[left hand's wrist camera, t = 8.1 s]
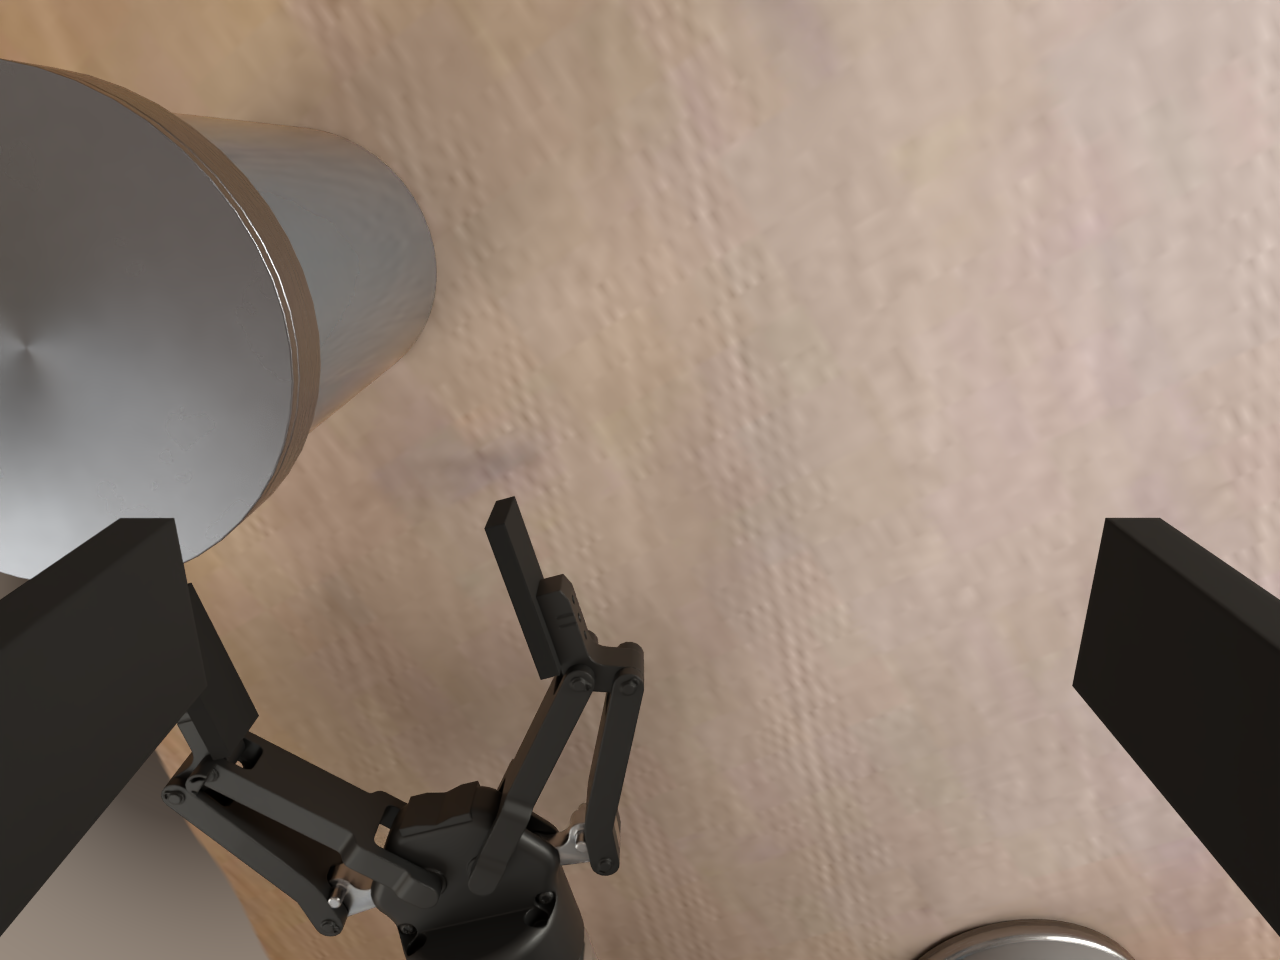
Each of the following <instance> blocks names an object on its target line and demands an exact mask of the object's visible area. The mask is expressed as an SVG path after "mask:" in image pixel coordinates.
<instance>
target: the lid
mask: <svg viewBox="0 0 1280 960" xmlns="http://www.w3.org/2000/svg"><path fill="white" fill-rule="evenodd" d="M320 371H321V358H320V340H319V331H318V325H317V320H316V314H315V309H314V304H313V300H312V297H311V294H310V291H309V287H308V284H307V281H306V278H305V275H304V272H303V269H302V267H301V265H300V262H299V260H298V258H297V256H296V254H295V251H294V249H293V247H292V245H291V243H290V240H289V238H288V236H287V235H286V233H285V231H284V230H283V228H282V226H281V225H280V223H279V222H278V220H277V218H276V217H275V215H274V213H273V212H272V210H271V208H270V207H269V205H268V204H267V203H266V201H265V200H264V199H263V198H262V196H261V195H260V194H259V192H258V191H257V190H256V188H255V187H254V186H253V185H252V183H251V182H250V181H249V179H248V178H247V177H246V176H245V175H244V174H243V173H242V172H241V171H240V170H239V169H238V168H237V166H236V165H235V164H234V163H233V162H232V161H231V160H230V159H229V158H228V157H227V156H226V155H225V154H224V153H223V152H222V151H221V150H220V149H219V148H218V147H216V146H215V145H214V144H213V143H212V142H210V141H209V140H208V139H207V138H205V137H204V136H203V135H202V134H201V133H199V132H198V131H197V130H196V129H195V128H193V127H192V126H191V125H189V124H188V123H186V122H185V121H183V120H182V119H180V118H179V117H177V116H176V115H174V114H172V113H171V112H169V111H168V110H166V109H165V108H163V107H162V106H160V105H159V104H157V103H155V102H153V101H151V100H149V99H147V98H145V97H142V96H140V95H138V94H136V93H134V92H132V91H130V90H128V89H126V88H124V87H121V86H119V85H116V84H113V83H110V82H107V81H104V80H101V79H99V78H96V77H93V76H90V75H86V74H81V73H77V72H72V71H67V70H63V69H58V68H53V67H48V66H42V65H36V64H30V63H24V62H18V61H12V60H6V59H0V572H1V573H5V574H8V575H12V576H15V577H18V578H24V579H31V578H33V577H34V576H36V575H37V574H39V573H40V572H42V571H43V570H45V569H46V568H48V567H49V566H50V565H52V564H53V563H55V562H56V561H58V560H59V559H61V558H62V557H64V556H65V555H67V554H68V553H70V552H71V551H72V550H74V549H75V548H77V547H78V546H80V545H81V544H83V543H84V542H86V541H87V540H89V539H90V538H91V537H93V536H94V535H96V534H97V533H99V532H100V531H102V530H103V529H105V528H106V527H108V526H109V525H111V524H112V523H113V522H115V521H116V520H118V519H119V518H175V524H176V529H177V534H178V539H179V544H180V549H181V554H182V559H183V563H185V562H188V561H190V560H192V559H194V558H196V557H198V556H199V555H201V554H202V553H204V552H205V551H207V550H208V549H210V548H211V547H213V546H214V545H216V544H217V543H219V542H220V541H221V540H223V539H224V538H225V537H226V536H227V535H228V534H229V533H230V532H232V531H233V530H234V529H235V528H236V527H237V526H238V525H239V524H240V523H242V522H243V521H244V520H245V519H246V518H247V517H248V516H249V515H251V514H252V513H253V512H254V511H255V510H256V509H257V508H258V507H259V506H260V505H261V504H262V503H263V502H265V501H266V500H267V499H268V498H269V497H270V496H271V495H272V494H273V493H274V491H275V490H276V489H277V488H278V486H279V485H280V484H281V483H282V481H283V480H284V479H285V478H286V476H287V475H288V474H289V472H290V470H291V468H292V467H293V465H294V463H295V461H296V460H297V458H298V456H299V454H300V453H301V451H302V449H303V446H304V444H305V441H306V438H307V436H308V433H309V431H310V428H311V425H312V422H313V418H314V413H315V409H316V404H317V400H318V396H319V383H320Z"/></svg>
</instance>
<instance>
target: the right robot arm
mask: <svg viewBox="0 0 1280 960" xmlns="http://www.w3.org/2000/svg"><path fill="white" fill-rule="evenodd" d="M484 529H485V531H486V534H487V537H488V539H489V542H490V545H491V547H492V550H493V553H494V555H495V558H496V561H497V563H498V566H499V569H500V572H501V574H502V577H503V580H504V582H505V585H506V588H507V590H508V593H509V596H510V598H511V601H512V604H513V606H514V609H515V612H516V615H517V617H518V620H519V623H520V625H521V628H522V631H523V633H524V636H525V639H526V641H527V644H528V647H529V649H530V652H531V655H532V658H533V660H534V663H535V666H536V668H537V671H538V674H539V676H540V679H541V680H542V679H546V678H550V677H554V676H555V677H554V679H553V681H552V683H551V685H550V687H549V689H548V691H547V693H546V695H545V697H544V699H543V701H542V703H541V705H540V707H539V709H538V711H537V713H536V715H535V717H534V719H533V722H532V724H531V726H530V728H529V730H528V732H527V734H526V736H525V738H524V740H523V742H522V744H521V746H520V748H519V750H518V752H517V754H516V756H515V758H514V759H512V761H511V762H510V764H509V766H508V769H507V771H506V773H505V775H504V777H503V779H502V781H501V783H500V785H499V787H498V789H497V790H496V789H493V788H490V787H485V786H480V784H479V782H478V781H475V782H471V783H467V784H462V785H460V786H458V787H456V788H454V789H452V790H450V791H448V792H445V793H424V794H420V795H416V796H412V797H411V798H410V800H409V803H408V804H407V803H405V802H403V801H401V800H399V799H397V798H395V797H393V796H392V795H390V794H388V793H386V792H383V791H376V792H374V793H368V792H366V791H364V790H362V789H360V788H358V787H356V786H354V785H352V784H350V783H348V782H346V781H344V780H342V779H340V778H338V777H337V776H335V775H333V774H331V773H329V772H327V771H325V770H323V769H321V768H319V767H317V766H315V765H313V764H311V763H309V762H307V761H305V760H303V759H302V758H300V757H298V756H296V755H294V754H292V753H290V752H288V751H286V750H284V749H282V748H280V747H278V746H276V745H274V744H272V743H270V742H268V741H267V740H265V739H263V738H261V737H259V736H257V735H255V734H253V733H251V732H249V729H250V728H251V726H252V725H253V723H254V722H255V721H256V719H257V718H258V716H259V715H258V713H257V711H256V709H255V707H254V705H253V703H252V701H251V699H250V697H249V695H248V693H247V691H246V689H245V687H244V685H243V683H242V681H241V679H240V677H239V675H238V673H237V671H236V670H235V668H234V666H233V664H232V662H231V660H230V658H229V656H228V654H227V652H226V650H225V648H224V646H223V644H222V642H221V640H220V638H219V636H218V634H217V632H216V630H215V628H214V626H213V624H212V622H211V620H210V618H209V616H208V614H207V612H206V610H205V608H204V606H203V604H202V603H201V601H200V599H199V597H198V595H197V593H196V591H195V589H194V587H193V585H192V583H188V589H189V594H190V599H191V604H192V609H193V615H194V620H195V625H196V630H197V635H198V640H199V645H200V650H201V655H202V660H203V665H204V670H205V675H206V680H207V685H208V686H207V687H206V688H205V690H204V691H203V692H202V693H201V694H200V696H199V697H198V698H197V699H196V700H195V702H194V703H193V704H192V705H191V707H190V708H189V709H188V710H187V711H186V713H185V714H184V715H183V716H182V717H181V719H180V720H179V721H178V722H177V725H178V727H179V729H180V730H181V732H182V734H183V736H184V738H185V740H186V741H187V743H188V745H189V747H190V749H191V751H192V752H191V754H190V755H189V756H188V758H187V759H186V760H185V761H184V763H183V764H182V765H181V767H180V768H179V769H178V770H177V772H176V773H175V774H174V776H173V777H172V778H171V780H170V781H169V783H168V784H167V785H166V787H165V788H164V789H163V791H162V794H161V797H162V800H163V801H164V803H165V804H166V805H167V806H169V807H170V808H171V809H173V810H174V811H176V812H177V813H178V814H179V815H181V816H182V817H184V818H185V819H186V820H188V821H189V822H190V823H192V824H193V825H194V826H196V827H197V828H198V829H200V830H201V831H202V832H204V833H205V834H206V835H208V836H209V837H210V838H212V839H213V840H214V841H216V842H217V843H218V844H220V845H221V846H222V847H224V848H225V849H227V850H228V851H229V852H231V853H232V854H233V855H235V856H236V857H237V858H239V859H240V860H241V861H243V862H244V863H245V864H247V865H248V866H249V867H251V868H252V869H253V870H255V871H256V872H257V873H259V874H260V875H261V876H263V877H264V878H266V879H267V880H268V881H270V882H271V883H272V884H274V885H275V886H276V887H278V888H279V889H280V890H282V891H283V892H284V893H286V894H287V895H288V896H290V897H291V898H292V899H294V900H295V901H296V902H298V904H299V905H300V907H301V908H302V910H303V911H304V912H305V914H306V915H307V917H308V918H309V920H310V921H311V922H312V924H313V925H314V927H315V928H316V930H317V931H318V932H319V933H321V934H323V935H325V936H336V935H338V934H340V932H341V931H342V930H343V927H344V924H345V922H346V919H347V917H348V916H350V915H353V914H356V913H359V912H362V911H365V910H369V909H372V908H375V907H377V909H379V910H380V911H381V912H382V913H384V914H385V915H387V916H388V917H389V918H390V919H392V920H393V921H394V923H395V924H396V925H397V928H398V931H399V935H400V939H401V943H402V947H403V951H404V954H405V957H406V960H598V958H597V955H596V953H595V950H594V948H593V945H592V943H591V940H590V938H589V935H588V933H587V930H586V929H585V928H584V924H583V919H582V916H581V913H580V911H579V908H578V906H577V903H576V901H575V898H574V896H573V893H572V891H571V888H570V885H569V883H568V880H567V878H566V875H565V873H564V870H563V868H562V866H561V865H569V864H576V863H584V862H590V864H591V867H592V869H593V871H594V872H596V873H597V874H599V875H604V876H608V875H611V874H614V873H615V872H616V871H617V870H618V868H619V857H620V817H619V812H618V804H619V799H620V795H621V790H622V786H623V781H624V777H625V772H626V768H627V763H628V759H629V754H630V750H631V745H632V741H633V736H634V732H635V728H636V723H637V719H638V714H639V710H640V705H641V701H642V696H643V692H644V652H643V650H642V648H641V647H640V646H639V645H638V644H636V643H633V642H625V643H622V644H620V645H619V646H618V647H606V646H601V645H599V644H598V639H597V637H596V635H595V634H594V633H593V632H591V631H589V630H588V629H587V626H586V623H585V620H584V617H583V615H582V612H581V609H580V607H579V603H578V600H577V598H576V594H575V591H574V588H573V585H572V583H571V582H570V581H569V580H568V579H567V578H566V577H565V575H564V574H561V575H557V576H553V577H549V578H546V579H544V578H543V575H542V572H541V569H540V566H539V563H538V561H537V558H536V555H535V552H534V549H533V547H532V544H531V541H530V538H529V535H528V532H527V530H526V527H525V524H524V521H523V518H522V516H521V513H520V510H519V507H518V504H517V501H516V499H515V496H513V497H510V498H506V499H502V500H498V501H496V503H495V505H494V507H493V510H492V512H491V514H490V517H489V519H488V521H487V524H486V526H485V528H484ZM592 691H595V692H607V693H606V697H605V702H604V707H603V712H602V717H601V722H600V726H599V731H598V736H597V741H596V746H595V751H594V756H593V760H592V765H591V770H590V775H589V781H588V789H587V801H586V803H583V804H581V805H580V806H579V808H578V810H577V811H575V812H574V813H573V814H572V816H571V820H570V825H569V827H568V828H567V829H566V830H564V831H562V832H559V831H558V830H557V828H556V827H555V826H554V825H553V824H551V823H550V822H548V821H547V820H545V819H543V818H542V817H540V816H538V815H537V814H535V813H534V812H532V810H533V808H534V805H535V803H536V801H537V799H538V798H539V796H540V794H541V792H542V790H543V788H544V786H545V784H546V782H547V780H548V778H549V776H550V774H551V772H552V770H553V768H554V766H555V764H556V762H557V760H558V758H559V756H560V754H561V752H562V750H563V748H564V746H565V744H566V743H567V741H568V739H569V737H570V735H571V733H572V731H573V729H574V727H575V725H576V723H577V721H578V719H579V717H580V715H581V713H582V711H583V709H584V707H585V705H586V703H587V701H588V699H589V697H590V695H591V693H592ZM237 761H239V762H241V763H242V765H243V768H242V767H240V766H238V765H236V762H237ZM379 824H382V825H384V826H386V827H387V828H389V829H390V831H389V834H388V837H387V840H386V843H385V846H384V849H383V848H381V847H379V846H378V845H377V844H375V842H374V836H375V834H376V831H377V829H378V826H379ZM918 960H1135V959H1134V958H1133V957H1132V956H1131V955H1130V954H1129V953H1128V952H1127V951H1126V950H1125V949H1124V948H1123V947H1121V946H1120V945H1119V944H1118V943H1116V942H1115V941H1113V940H1112V939H1110V938H1109V937H1107V936H1105V935H1103V934H1101V933H1099V932H1097V931H1094V930H1092V929H1089V928H1087V927H1083V926H1080V925H1076V924H1072V923H1067V922H1062V921H1054V920H1041V919H1027V920H1014V921H1005V922H1000V923H995V924H990V925H986V926H983V927H979V928H976V929H973V930H970V931H967V932H964V933H962V934H960V935H957V936H955V937H953V938H951V939H949V940H947V941H945V942H943V943H941V944H939V945H938V946H936V947H935V948H933V949H931V950H930V951H928V952H927V953H926V954H924V955H923V956H922V957H920V958H919V959H918Z"/></svg>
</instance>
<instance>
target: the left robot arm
mask: <svg viewBox="0 0 1280 960" xmlns="http://www.w3.org/2000/svg"><path fill="white" fill-rule="evenodd" d="M207 686H208V685H207V680H206V675H205V670H204V665H203V660H202V655H201V650H200V645H199V640H198V635H197V630H196V625H195V620H194V615H193V609H192V604H191V599H190V594H189V589H188V584H187V579H186V574H185V569H184V564H183V559H182V554H181V549H180V544H179V539H178V534H177V529H176V524H175V518H119V519H118V520H116V521H115V522H113V523H112V524H111V525H109V526H108V527H106V528H105V529H103V530H102V531H100V532H99V533H97V534H96V535H94V536H93V537H91V538H90V539H89V540H87V541H86V542H84V543H83V544H81V545H80V546H78V547H77V548H75V549H74V550H72V551H71V552H70V553H68V554H67V555H65V556H64V557H62V558H61V559H59V560H58V561H56V562H55V563H53V564H52V565H50V566H49V567H48V568H46V569H45V570H43V571H42V572H40V573H39V574H37V575H36V576H34V577H33V578H31V579H30V580H29V581H27V582H26V583H24V584H23V585H21V586H20V587H18V588H17V589H15V590H14V591H12V592H11V593H10V594H8V595H7V596H5V597H4V598H2V599H1V600H0V936H1V935H2V934H3V933H4V932H5V930H6V929H7V928H8V927H9V925H10V924H11V923H12V922H13V921H14V919H15V918H16V917H17V916H18V914H19V913H20V912H21V911H22V910H23V909H24V907H25V906H26V905H27V904H28V902H29V901H30V900H31V899H32V898H33V896H34V895H35V894H36V893H37V892H38V890H39V889H40V888H41V887H42V886H43V884H44V883H45V882H46V881H47V879H48V878H49V877H50V876H51V875H52V873H53V872H54V871H55V870H56V869H57V867H58V866H59V865H60V864H61V863H62V861H63V860H64V859H65V858H66V857H67V855H68V854H69V853H70V852H71V850H72V849H73V848H74V847H75V846H76V844H77V843H78V842H79V841H80V840H81V838H82V837H83V836H84V835H85V833H86V832H87V831H88V830H89V829H90V828H91V826H92V825H93V824H94V823H95V821H96V820H97V819H98V818H99V817H100V815H101V814H102V813H103V812H104V811H105V809H106V808H107V807H108V806H109V805H110V803H111V802H112V801H113V800H114V798H115V797H116V796H117V795H118V794H119V792H120V791H121V790H122V789H123V788H124V786H125V785H126V784H127V783H128V782H129V780H130V779H131V778H132V777H133V775H134V774H135V773H136V772H137V771H138V769H139V768H140V767H141V766H142V765H143V763H144V762H145V761H146V760H147V759H148V757H149V756H150V755H151V754H152V752H153V751H154V750H155V749H156V748H157V746H158V745H159V744H160V743H161V742H162V740H163V739H164V738H165V737H166V736H167V734H168V733H169V732H170V731H171V730H172V728H173V727H174V726H175V725H176V723H177V722H178V721H179V720H180V719H181V717H182V716H183V715H184V714H185V713H186V711H187V710H188V709H189V708H190V707H191V705H192V704H193V703H194V702H195V700H196V699H197V698H198V697H199V696H200V694H201V693H202V692H203V691H204V690H205V688H206V687H207ZM1072 686H1073V687H1074V688H1075V690H1076V691H1077V692H1078V693H1079V694H1080V696H1081V697H1082V698H1083V699H1084V700H1085V702H1086V703H1087V704H1088V705H1089V707H1090V708H1091V709H1092V710H1093V711H1094V713H1095V714H1096V715H1097V716H1098V717H1099V719H1100V720H1101V721H1102V722H1103V723H1104V725H1105V726H1106V727H1107V728H1108V730H1109V731H1110V732H1111V733H1112V734H1113V736H1114V737H1115V738H1116V739H1117V740H1118V742H1119V743H1120V744H1121V745H1122V746H1123V748H1124V749H1125V750H1126V751H1127V753H1128V754H1129V755H1130V756H1131V757H1132V759H1133V760H1134V761H1135V762H1136V763H1137V765H1138V766H1139V767H1140V768H1141V769H1142V771H1143V772H1144V773H1145V774H1146V776H1147V777H1148V778H1149V779H1150V780H1151V782H1152V783H1153V784H1154V785H1155V786H1156V788H1157V789H1158V790H1159V791H1160V792H1161V794H1162V795H1163V796H1164V797H1165V798H1166V800H1167V801H1168V802H1169V803H1170V805H1171V806H1172V807H1173V808H1174V809H1175V811H1176V812H1177V813H1178V814H1179V815H1180V817H1181V818H1182V819H1183V820H1184V821H1185V823H1186V824H1187V825H1188V826H1189V828H1190V829H1191V830H1192V831H1193V832H1194V834H1195V835H1196V836H1197V837H1198V838H1199V840H1200V841H1201V842H1202V843H1203V844H1204V846H1205V847H1206V848H1207V849H1208V851H1209V852H1210V853H1211V854H1212V855H1213V857H1214V858H1215V859H1216V860H1217V861H1218V863H1219V864H1220V865H1221V866H1222V867H1223V869H1224V870H1225V871H1226V872H1227V874H1228V875H1229V876H1230V877H1231V878H1232V880H1233V881H1234V882H1235V883H1236V884H1237V886H1238V887H1239V888H1240V889H1241V890H1242V892H1243V893H1244V894H1245V895H1246V896H1247V898H1248V899H1249V900H1250V901H1251V903H1252V904H1253V905H1254V906H1255V907H1256V909H1257V910H1258V911H1259V912H1260V913H1261V915H1262V916H1263V917H1264V918H1265V919H1266V921H1267V922H1268V923H1269V924H1270V926H1271V927H1272V928H1273V929H1274V930H1275V932H1276V933H1277V934H1278V935H1279V936H1280V600H1279V599H1278V598H1276V597H1275V596H1273V595H1272V594H1270V593H1269V592H1268V591H1266V590H1265V589H1263V588H1262V587H1260V586H1259V585H1257V584H1256V583H1254V582H1253V581H1251V580H1250V579H1248V578H1247V577H1246V576H1244V575H1243V574H1241V573H1240V572H1238V571H1237V570H1235V569H1234V568H1232V567H1231V566H1229V565H1228V564H1227V563H1225V562H1224V561H1222V560H1221V559H1219V558H1218V557H1216V556H1215V555H1213V554H1212V553H1210V552H1209V551H1208V550H1206V549H1205V548H1203V547H1202V546H1200V545H1199V544H1197V543H1196V542H1194V541H1193V540H1191V539H1190V538H1188V537H1187V536H1186V535H1184V534H1183V533H1181V532H1180V531H1178V530H1177V529H1175V528H1174V527H1172V526H1171V525H1169V524H1168V523H1167V522H1165V521H1164V520H1162V519H1161V518H1105V523H1104V528H1103V533H1102V539H1101V544H1100V549H1099V554H1098V559H1097V564H1096V569H1095V574H1094V579H1093V584H1092V589H1091V594H1090V599H1089V604H1088V609H1087V614H1086V619H1085V624H1084V630H1083V635H1082V640H1081V645H1080V650H1079V655H1078V660H1077V665H1076V670H1075V675H1074V680H1073V685H1072Z"/></svg>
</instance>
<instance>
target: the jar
mask: <svg viewBox="0 0 1280 960" xmlns="http://www.w3.org/2000/svg"><path fill="white" fill-rule="evenodd" d="M172 114H174V115H176V116H177V117H179V118H180V119H182V120H183V121H185V122H186V123H188V124H189V125H191V126H192V127H193V128H195V129H196V130H197V131H198V132H199V133H201V134H202V135H203V136H204V137H205V138H207V139H208V140H209V141H210V142H212V143H213V144H214V145H215V146H216V147H218V148H219V149H220V150H221V151H222V152H223V153H224V154H225V155H226V156H227V157H228V158H229V159H230V160H231V161H232V162H233V163H234V164H235V165H236V166H237V168H238V169H239V170H240V171H241V172H242V173H243V174H244V175H245V176H246V177H247V178H248V179H249V181H250V182H251V183H252V185H253V186H254V187H255V188H256V190H257V191H258V192H259V194H260V195H261V196H262V198H263V199H264V200H265V201H266V203H267V204H268V205H269V207H270V208H271V210H272V212H273V213H274V215H275V217H276V218H277V220H278V222H279V223H280V225H281V226H282V228H283V230H284V231H285V233H286V235H287V236H288V238H289V240H290V243H291V245H292V247H293V249H294V251H295V254H296V256H297V258H298V260H299V262H300V265H301V267H302V269H303V272H304V275H305V278H306V281H307V284H308V287H309V291H310V294H311V297H312V300H313V304H314V309H315V314H316V320H317V325H318V331H319V340H320V358H321V371H320V383H319V396H318V400H317V404H316V409H315V413H314V418H313V422H312V425H311V428H310V431H309V433H310V432H311V431H313V430H314V429H315V428H316V427H318V426H319V425H320V424H321V423H323V422H324V421H325V420H326V419H327V418H329V417H330V416H331V415H332V414H334V413H335V412H336V411H337V410H339V409H340V408H341V407H342V406H343V405H345V404H346V403H347V402H348V401H350V400H351V399H352V398H353V397H355V396H356V395H357V394H358V393H360V392H361V391H362V390H363V389H364V388H366V387H367V386H368V385H369V384H371V383H372V382H373V381H374V380H376V379H377V378H378V377H379V376H380V375H382V374H383V373H384V372H385V371H387V370H388V369H389V368H390V367H392V366H393V365H394V364H395V363H396V362H397V361H399V360H400V359H401V358H402V357H403V356H404V355H405V354H406V353H407V352H408V351H409V349H410V348H411V347H412V346H413V344H414V343H415V342H416V341H417V339H418V337H419V335H420V334H421V332H422V330H423V329H424V327H425V324H426V322H427V320H428V317H429V315H430V312H431V308H432V304H433V300H434V296H435V287H436V260H435V253H434V246H433V242H432V239H431V235H430V231H429V228H428V226H427V223H426V221H425V218H424V216H423V213H422V212H421V210H420V208H419V206H418V204H417V203H416V201H415V199H414V197H413V196H412V194H411V193H410V192H409V190H408V189H407V187H406V186H405V185H404V183H403V182H402V181H401V180H400V179H399V178H398V176H397V175H396V174H395V173H394V172H393V171H392V170H391V169H390V168H389V167H388V166H387V165H386V164H384V163H383V162H382V161H381V160H380V159H379V158H377V157H376V156H375V155H373V154H372V153H370V152H369V151H367V150H366V149H364V148H363V147H361V146H359V145H357V144H355V143H353V142H351V141H349V140H347V139H346V138H343V137H340V136H337V135H335V134H332V133H329V132H325V131H320V130H316V129H311V128H303V127H294V126H285V125H276V124H268V123H259V122H250V121H241V120H232V119H224V118H215V117H206V116H197V115H188V114H180V113H172ZM309 433H308V434H309Z"/></svg>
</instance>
